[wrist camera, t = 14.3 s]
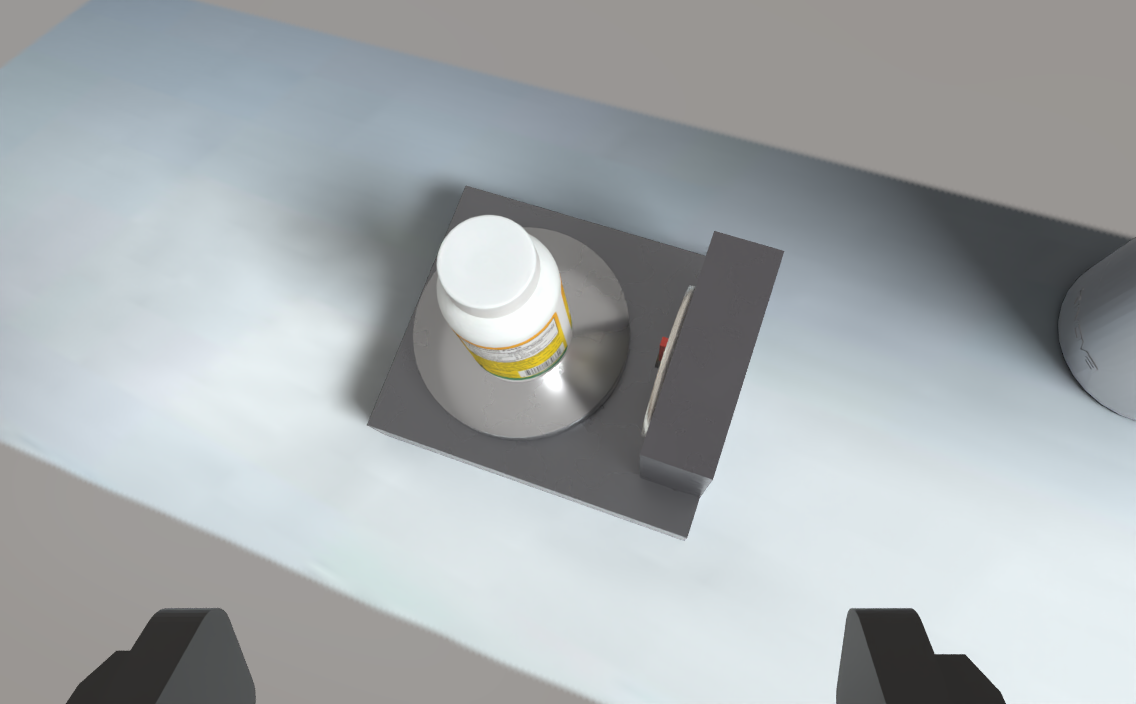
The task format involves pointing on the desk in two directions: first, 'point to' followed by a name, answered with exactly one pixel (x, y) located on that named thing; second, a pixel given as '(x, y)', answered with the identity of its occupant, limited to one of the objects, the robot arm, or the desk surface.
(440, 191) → the desk surface
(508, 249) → the supplement bottle
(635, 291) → the scale
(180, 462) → the desk surface
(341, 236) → the desk surface
